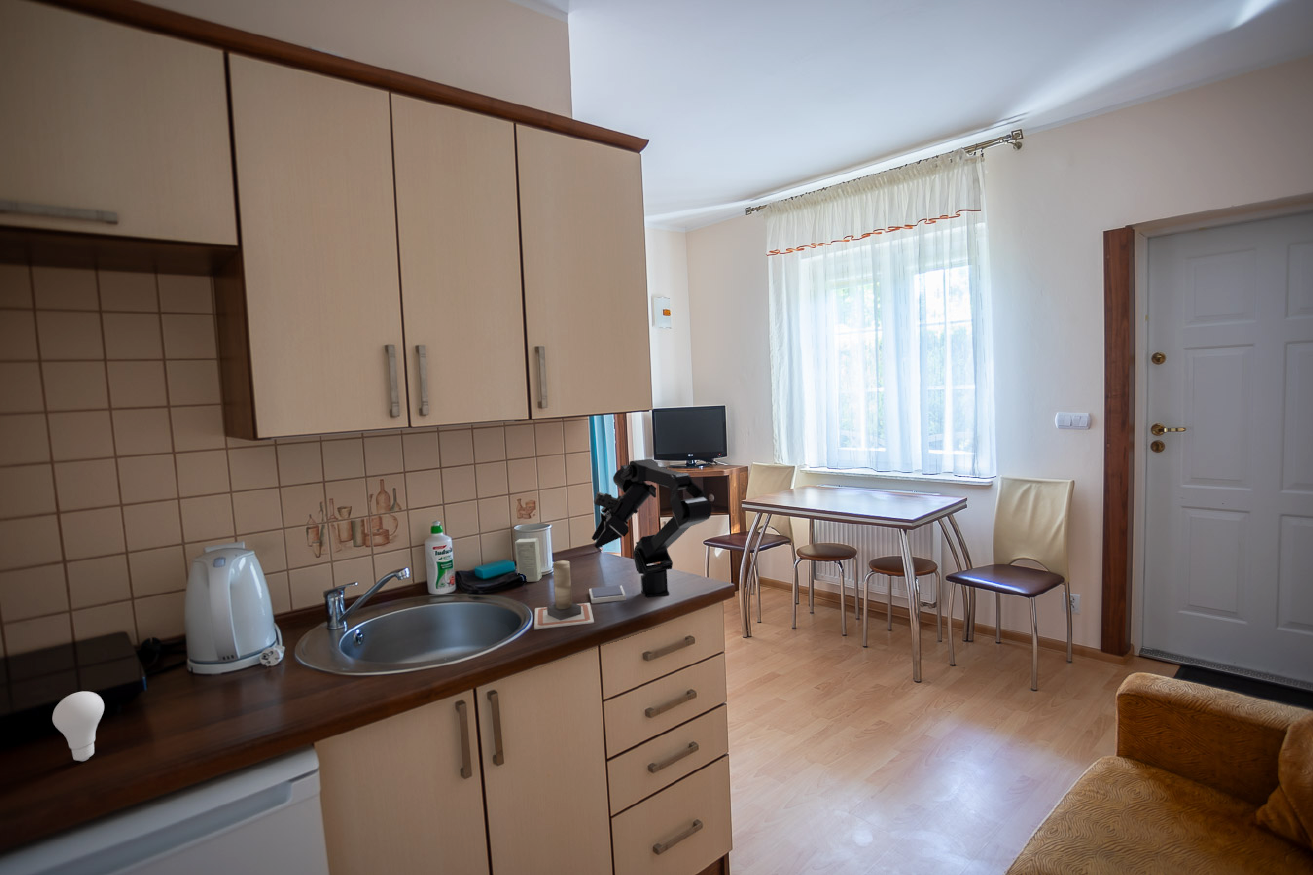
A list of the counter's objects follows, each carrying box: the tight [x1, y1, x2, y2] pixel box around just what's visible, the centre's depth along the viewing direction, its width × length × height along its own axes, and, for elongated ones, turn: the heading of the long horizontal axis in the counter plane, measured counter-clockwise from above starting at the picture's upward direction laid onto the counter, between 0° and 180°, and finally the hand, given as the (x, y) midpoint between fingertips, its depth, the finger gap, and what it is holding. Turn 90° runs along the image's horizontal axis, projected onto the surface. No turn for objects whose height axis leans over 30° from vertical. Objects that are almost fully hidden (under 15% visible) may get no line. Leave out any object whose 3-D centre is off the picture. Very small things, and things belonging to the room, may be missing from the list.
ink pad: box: [588, 585, 627, 604], centre depth 172 cm, size 9×9×2 cm
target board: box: [533, 602, 595, 630], centre depth 159 cm, size 14×14×1 cm
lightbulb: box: [52, 691, 105, 762], centre depth 102 cm, size 6×6×11 cm
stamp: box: [546, 559, 581, 620], centre depth 158 cm, size 6×6×13 cm
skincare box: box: [514, 537, 543, 583], centre depth 191 cm, size 6×4×12 cm
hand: (594, 543), depth 176 cm, fingers open, 9 cm apart
